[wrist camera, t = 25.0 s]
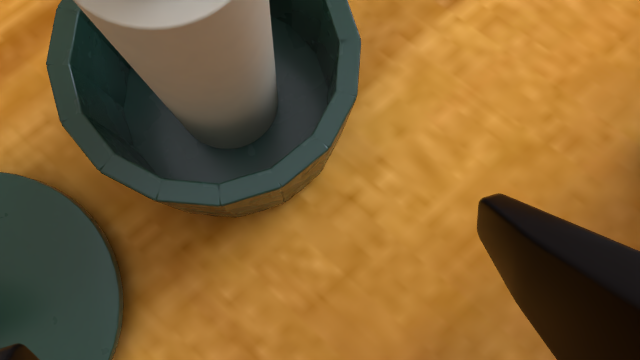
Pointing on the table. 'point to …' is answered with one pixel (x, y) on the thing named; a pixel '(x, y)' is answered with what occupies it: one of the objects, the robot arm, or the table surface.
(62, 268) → the tin lid
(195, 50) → the bottle
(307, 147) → the tin
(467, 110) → the table surface
